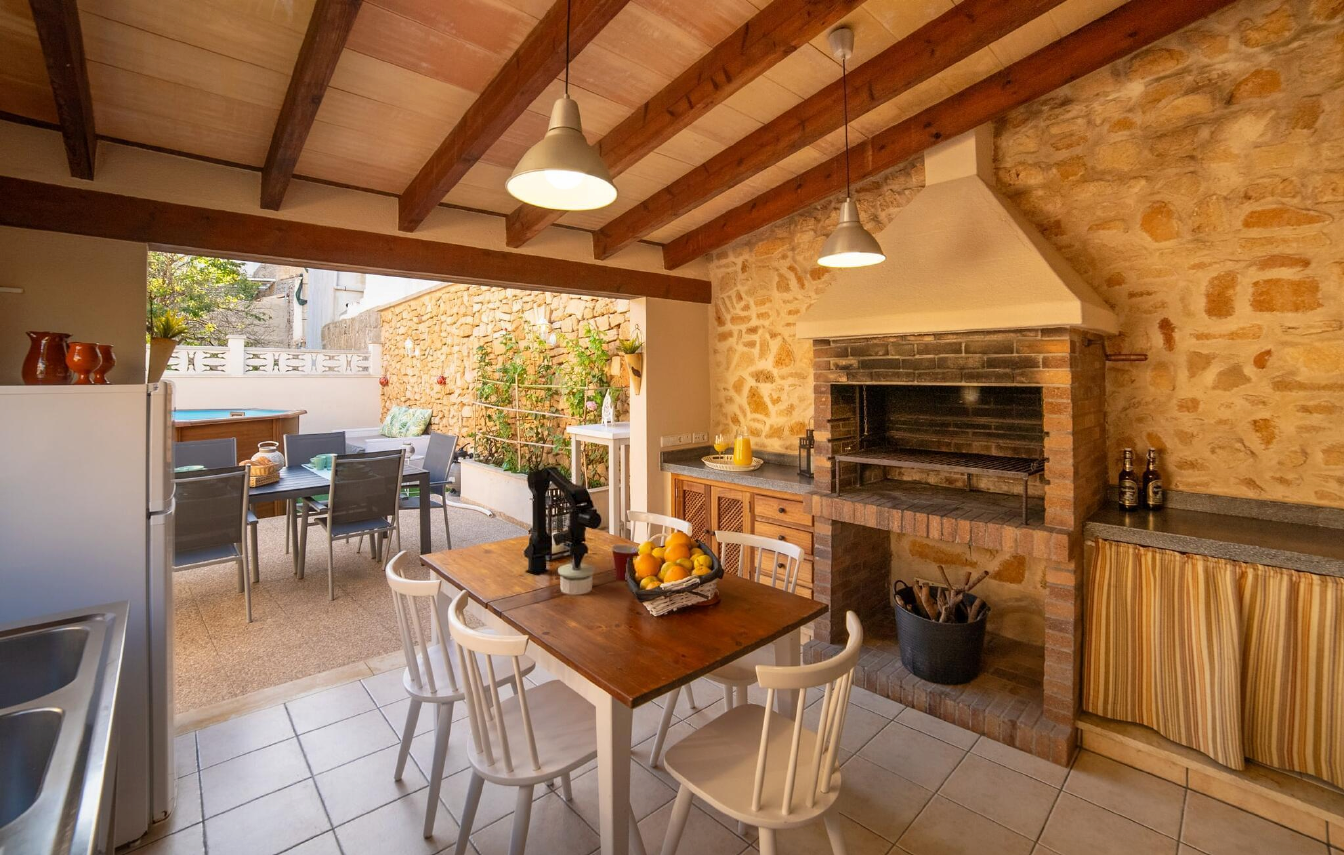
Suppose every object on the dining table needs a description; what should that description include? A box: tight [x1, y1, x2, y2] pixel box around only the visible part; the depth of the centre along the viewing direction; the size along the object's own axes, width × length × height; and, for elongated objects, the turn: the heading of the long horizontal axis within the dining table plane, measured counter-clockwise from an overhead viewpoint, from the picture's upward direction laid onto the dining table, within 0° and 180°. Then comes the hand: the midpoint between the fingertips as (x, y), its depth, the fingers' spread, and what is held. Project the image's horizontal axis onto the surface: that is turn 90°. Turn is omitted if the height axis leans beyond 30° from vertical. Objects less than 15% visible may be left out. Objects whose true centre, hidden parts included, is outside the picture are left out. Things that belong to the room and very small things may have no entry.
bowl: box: [559, 574, 593, 596], centre depth 213 cm, size 11×11×5 cm
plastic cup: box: [611, 544, 640, 582], centre depth 227 cm, size 11×11×12 cm
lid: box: [557, 558, 596, 578], centre depth 213 cm, size 13×13×4 cm
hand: (576, 566), depth 213 cm, fingers closed on lid, 3 cm apart
